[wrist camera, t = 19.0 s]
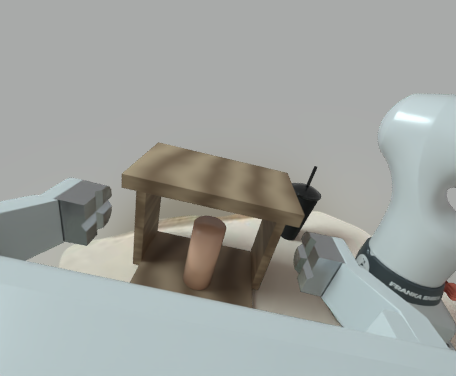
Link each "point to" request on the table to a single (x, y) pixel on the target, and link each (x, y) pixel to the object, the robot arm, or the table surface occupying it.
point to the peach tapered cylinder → (203, 251)
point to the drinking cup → (302, 205)
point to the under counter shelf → (214, 198)
